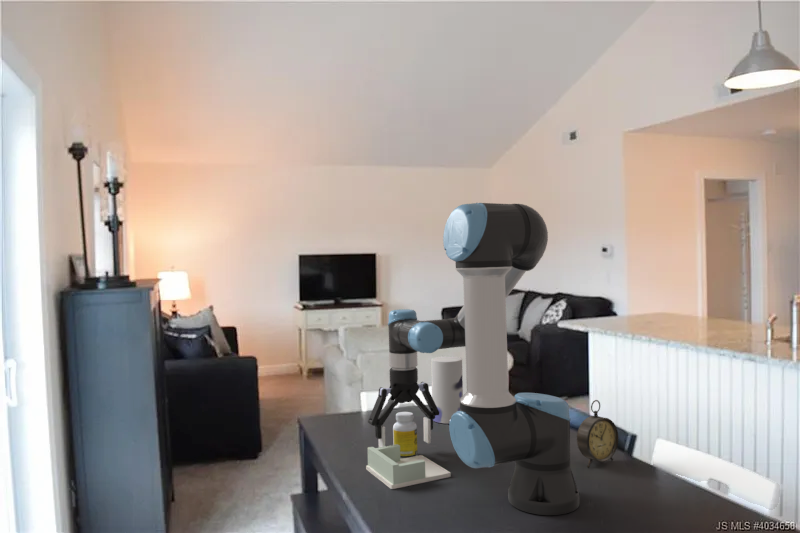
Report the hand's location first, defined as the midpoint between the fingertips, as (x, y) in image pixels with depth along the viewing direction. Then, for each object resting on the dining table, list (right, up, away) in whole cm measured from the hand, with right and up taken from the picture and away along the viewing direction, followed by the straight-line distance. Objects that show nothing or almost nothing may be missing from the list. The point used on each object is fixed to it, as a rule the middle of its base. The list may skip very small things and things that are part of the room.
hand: (405, 446), depth 166 cm
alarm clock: (+49, -2, -8) cm, 50 cm away
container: (+14, -2, +35) cm, 38 cm away
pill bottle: (0, -3, 0) cm, 3 cm away
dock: (+1, -3, -12) cm, 13 cm away
